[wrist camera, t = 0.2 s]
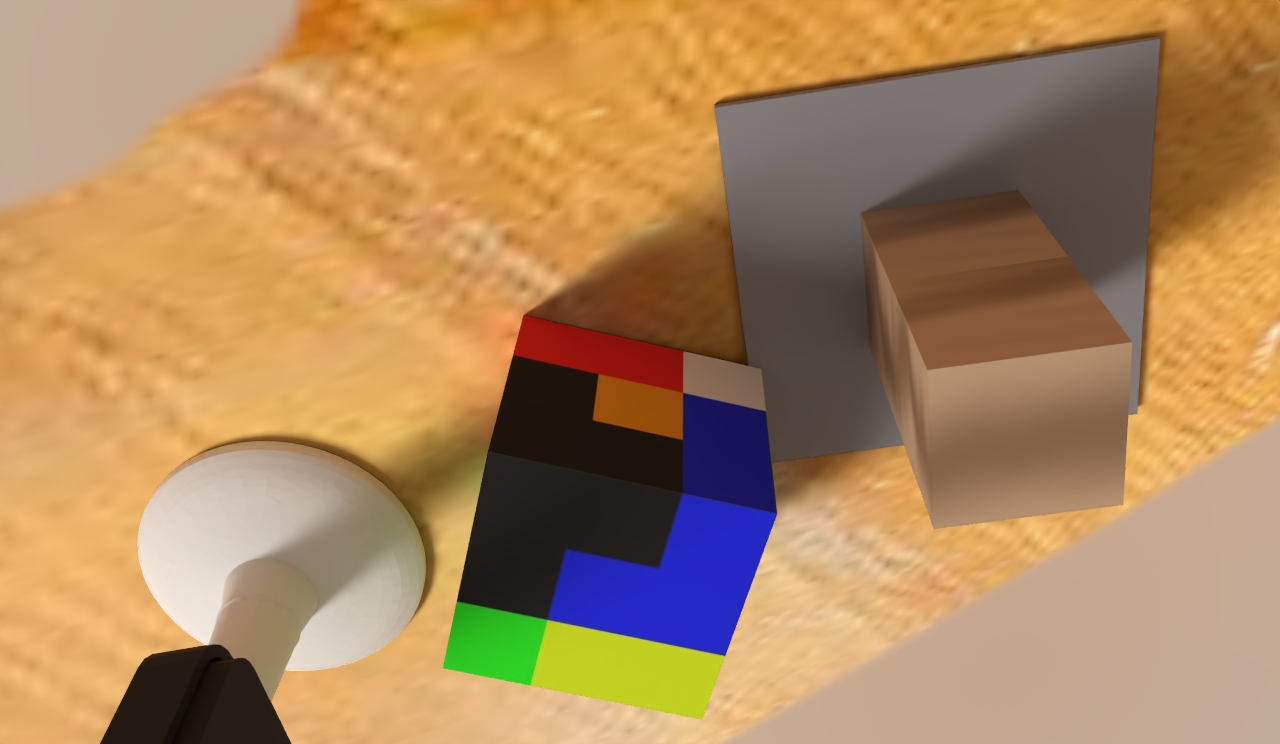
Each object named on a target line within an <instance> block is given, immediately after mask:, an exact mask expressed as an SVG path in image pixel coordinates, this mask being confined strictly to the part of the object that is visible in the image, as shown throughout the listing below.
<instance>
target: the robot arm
mask: <svg viewBox="0 0 1280 744" xmlns="http://www.w3.org/2000/svg"><path fill="white" fill-rule="evenodd" d="M100 744H291V742H290V740H289V738H288V736H287V734H286V732H285V730H284V728H283V726H282V724H281V721H280V719H279V717H278V715H277V713H276V711H275V709H274V707H273V705H272V703H271V701H270V699H269V697H268V695H267V693H266V691H265V689H264V687H263V685H262V683H261V681H260V679H259V677H258V674H257V672H256V670H255V669H254V667H253V666H252V664H251V662H250V661H248V660H247V659H245V658H235V659H234V658H233V657H232V655H231V654H230V652H229V651H228V650H227V649H226V648H224V647H223V646H222V645H218V644H211V645H205V646H199V647H193V648H187V649H181V650H175V651H168V652H162V653H156V654H152V655H150V656H148V657H147V658H145V659H144V660H143V662H142V663H141V664H140V666H139V667H138V669H137V671H136V673H135V675H134V677H133V679H132V681H131V683H130V685H129V687H128V689H127V691H126V693H125V695H124V697H123V699H122V701H121V703H120V705H119V707H118V709H117V711H116V713H115V715H114V717H113V719H112V721H111V723H110V725H109V727H108V729H107V731H106V733H105V735H104V737H103V739H102V741H101V743H100Z"/></svg>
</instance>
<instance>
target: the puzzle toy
mask: <svg viewBox="0 0 1280 744" xmlns="http://www.w3.org/2000/svg"><path fill="white" fill-rule="evenodd" d="M776 515H777V508H776V499H775V490H774V480H773V471H772V462H771V453H770V443H769V434H768V425H767V416H766V406H765V397H764V388H763V379H762V370H761V369H760V368H756V367H751V366H747V365H742V364H738V363H733V362H729V361H725V360H720V359H716V358H711V357H707V356H702V355H698V354H693V353H689V352H685V351H680V350H676V349H671V348H667V347H662V346H658V345H653V344H649V343H645V342H640V341H636V340H631V339H627V338H622V337H618V336H613V335H609V334H604V333H600V332H596V331H591V330H587V329H582V328H578V327H573V326H569V325H564V324H560V323H556V322H551V321H547V320H542V319H538V318H533V317H529V316H523V319H522V323H521V327H520V331H519V335H518V339H517V342H516V346H515V350H514V354H513V358H512V362H511V365H510V369H509V373H508V377H507V381H506V385H505V388H504V392H503V396H502V400H501V404H500V408H499V411H498V415H497V419H496V423H495V427H494V431H493V435H492V438H491V442H490V446H489V450H488V454H487V459H486V464H485V469H484V473H483V478H482V483H481V488H480V493H479V497H478V502H477V507H476V512H475V517H474V522H473V526H472V531H471V536H470V541H469V546H468V550H467V555H466V560H465V565H464V570H463V574H462V579H461V584H460V589H459V594H458V598H457V603H456V608H455V613H454V618H453V622H452V627H451V632H450V637H449V642H448V647H447V651H446V656H445V661H444V666H443V668H445V669H450V670H455V671H460V672H465V673H470V674H475V675H480V676H485V677H490V678H495V679H500V680H505V681H510V682H515V683H520V684H526V685H531V686H536V687H541V688H546V689H551V690H556V691H561V692H566V693H571V694H576V695H581V696H586V697H591V698H596V699H601V700H606V701H611V702H616V703H621V704H626V705H631V706H637V707H642V708H647V709H652V710H657V711H662V712H667V713H672V714H677V715H682V716H687V717H692V718H697V719H702V718H703V716H704V713H705V710H706V707H707V705H708V702H709V699H710V696H711V694H712V691H713V688H714V685H715V683H716V680H717V677H718V674H719V672H720V669H721V666H722V663H723V661H724V658H725V655H726V652H727V650H728V647H729V644H730V642H731V639H732V636H733V633H734V631H735V628H736V625H737V622H738V620H739V617H740V614H741V611H742V609H743V606H744V603H745V600H746V598H747V595H748V592H749V589H750V587H751V584H752V581H753V578H754V576H755V573H756V570H757V567H758V565H759V562H760V559H761V557H762V554H763V551H764V548H765V546H766V543H767V540H768V537H769V535H770V532H771V529H772V526H773V524H774V521H775V518H776Z"/></svg>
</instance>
